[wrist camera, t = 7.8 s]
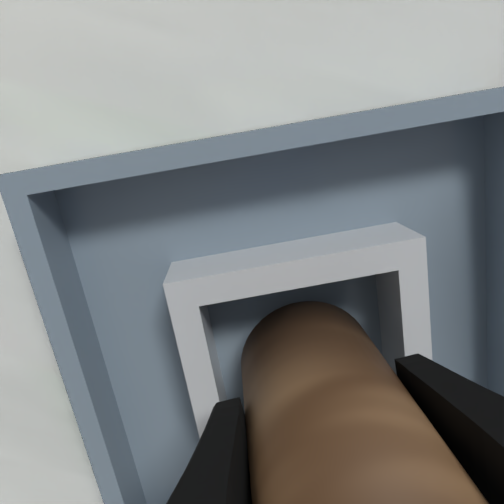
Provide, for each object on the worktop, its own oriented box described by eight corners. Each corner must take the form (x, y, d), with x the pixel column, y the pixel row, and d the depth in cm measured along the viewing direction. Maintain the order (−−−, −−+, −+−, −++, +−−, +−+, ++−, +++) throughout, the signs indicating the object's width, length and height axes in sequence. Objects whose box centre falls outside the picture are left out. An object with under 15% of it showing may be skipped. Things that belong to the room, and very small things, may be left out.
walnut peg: (357, 286, 12) (575, 531, 5) (379, 399, 14) (585, 748, 6) (225, 320, 12) (230, 620, 5) (258, 431, 14) (306, 819, 6)
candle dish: (487, 89, 13) (555, 77, 10) (491, 457, 17) (541, 518, 14) (37, 167, 13) (-12, 176, 10) (145, 523, 17) (130, 598, 14)
